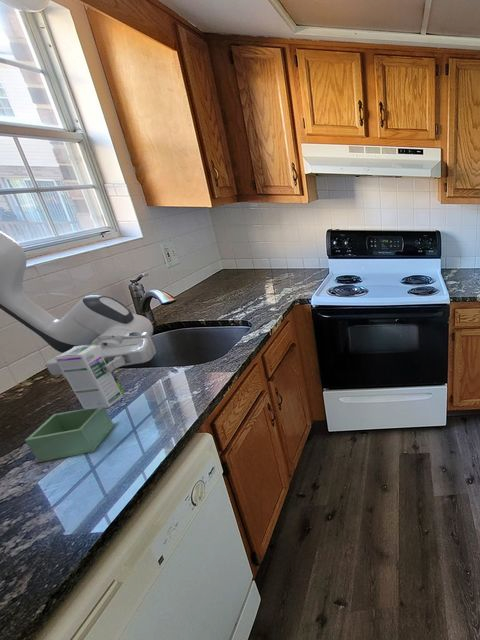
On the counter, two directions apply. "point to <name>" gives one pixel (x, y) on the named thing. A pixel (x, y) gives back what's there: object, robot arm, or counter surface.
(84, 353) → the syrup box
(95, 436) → the green open square box
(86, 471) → the counter surface
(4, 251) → the robot arm
